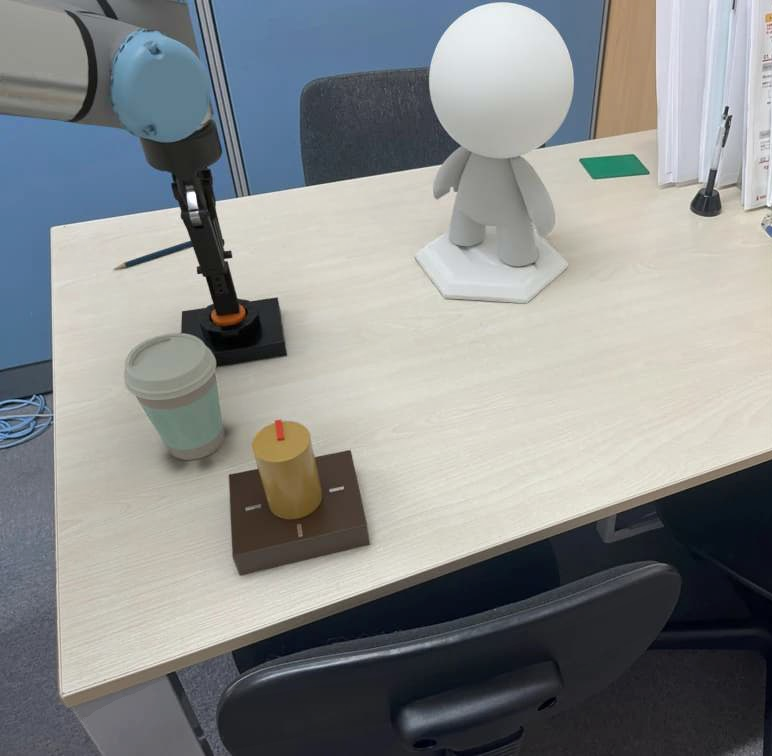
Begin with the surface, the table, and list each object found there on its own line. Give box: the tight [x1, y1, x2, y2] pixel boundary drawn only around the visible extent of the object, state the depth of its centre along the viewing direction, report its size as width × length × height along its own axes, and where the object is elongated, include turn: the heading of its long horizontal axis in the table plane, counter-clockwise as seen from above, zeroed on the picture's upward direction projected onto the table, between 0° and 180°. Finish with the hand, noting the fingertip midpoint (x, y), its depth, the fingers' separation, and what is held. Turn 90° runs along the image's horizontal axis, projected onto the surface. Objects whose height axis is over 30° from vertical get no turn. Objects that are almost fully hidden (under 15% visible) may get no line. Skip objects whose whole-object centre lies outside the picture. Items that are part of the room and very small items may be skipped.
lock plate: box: [228, 449, 371, 576], centre depth 69 cm, size 12×10×3 cm
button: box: [211, 305, 246, 326], centre depth 89 cm, size 4×4×2 cm
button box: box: [180, 297, 288, 368], centre depth 89 cm, size 12×10×4 cm
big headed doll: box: [414, 1, 575, 304], centre depth 95 cm, size 20×23×35 cm
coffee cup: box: [123, 332, 225, 461], centre depth 73 cm, size 8×9×12 cm
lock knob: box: [251, 418, 322, 519], centre depth 65 cm, size 5×5×8 cm
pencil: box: [113, 240, 193, 271], centre depth 105 cm, size 1×1×15 cm
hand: (228, 310), depth 88 cm, fingers closed
